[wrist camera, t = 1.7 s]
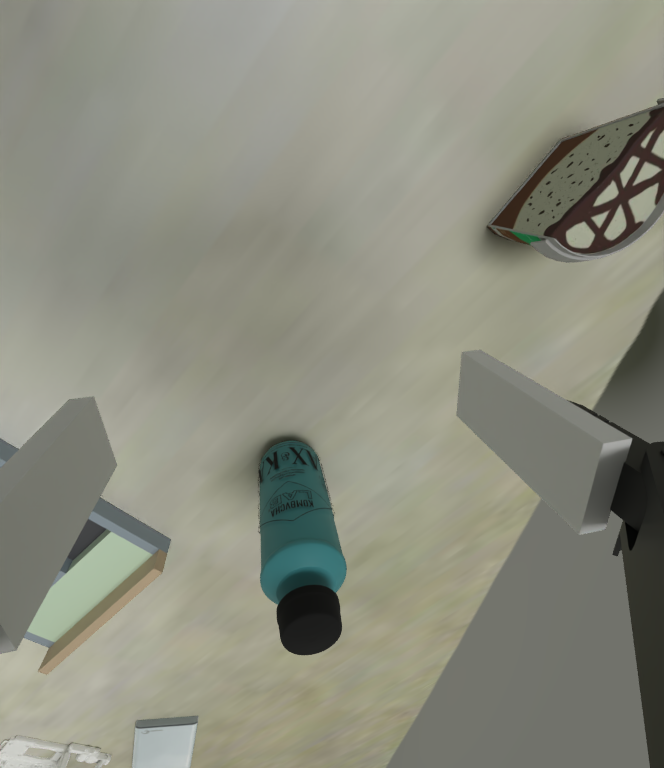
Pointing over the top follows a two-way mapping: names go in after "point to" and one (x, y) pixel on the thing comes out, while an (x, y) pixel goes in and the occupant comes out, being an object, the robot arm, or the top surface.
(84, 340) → the top surface
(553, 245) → the brown semicircular wedge
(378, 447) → the top surface
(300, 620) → the beverage bottle
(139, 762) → the hard drive
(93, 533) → the board
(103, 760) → the white bracket stand
